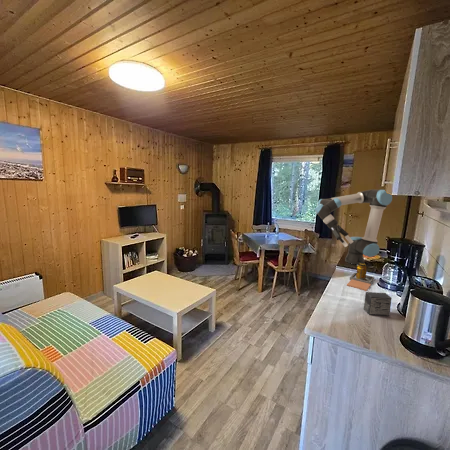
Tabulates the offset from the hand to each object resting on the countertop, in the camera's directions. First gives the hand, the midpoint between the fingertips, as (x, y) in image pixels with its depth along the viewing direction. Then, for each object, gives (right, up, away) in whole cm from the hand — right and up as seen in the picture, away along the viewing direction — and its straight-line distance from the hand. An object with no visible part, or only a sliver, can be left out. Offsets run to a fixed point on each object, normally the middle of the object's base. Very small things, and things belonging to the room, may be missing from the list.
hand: (349, 244), depth 174 cm
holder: (+8, -25, -3) cm, 27 cm away
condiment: (+8, -26, -3) cm, 27 cm away
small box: (-10, -33, -47) cm, 58 cm away
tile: (0, -27, -13) cm, 30 cm away
